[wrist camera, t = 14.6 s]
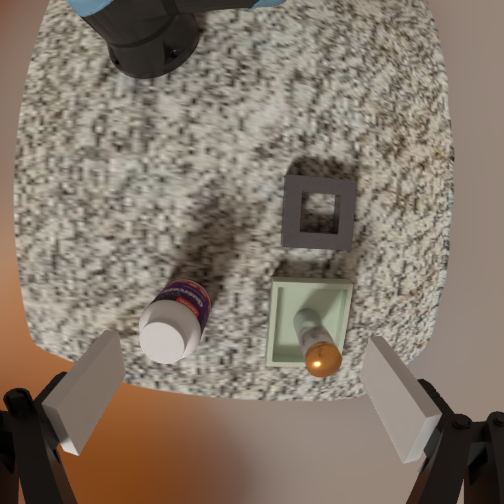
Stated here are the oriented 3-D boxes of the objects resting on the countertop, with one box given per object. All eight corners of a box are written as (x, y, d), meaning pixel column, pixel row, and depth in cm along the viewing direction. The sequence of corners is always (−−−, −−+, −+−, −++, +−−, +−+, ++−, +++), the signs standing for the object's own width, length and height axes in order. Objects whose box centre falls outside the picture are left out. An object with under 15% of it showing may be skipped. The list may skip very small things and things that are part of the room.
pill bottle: (216, 285, 46) (202, 322, 32) (206, 330, 48) (190, 380, 33) (166, 271, 46) (133, 302, 32) (158, 317, 47) (127, 361, 33)
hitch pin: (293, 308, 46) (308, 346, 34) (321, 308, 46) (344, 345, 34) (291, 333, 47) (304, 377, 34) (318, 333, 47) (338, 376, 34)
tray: (271, 276, 46) (273, 281, 43) (347, 279, 46) (353, 284, 43) (265, 356, 48) (266, 366, 46) (334, 357, 49) (339, 365, 46)
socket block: (284, 175, 43) (287, 174, 40) (349, 181, 43) (356, 181, 41) (280, 243, 45) (282, 246, 42) (344, 247, 45) (350, 250, 42)
